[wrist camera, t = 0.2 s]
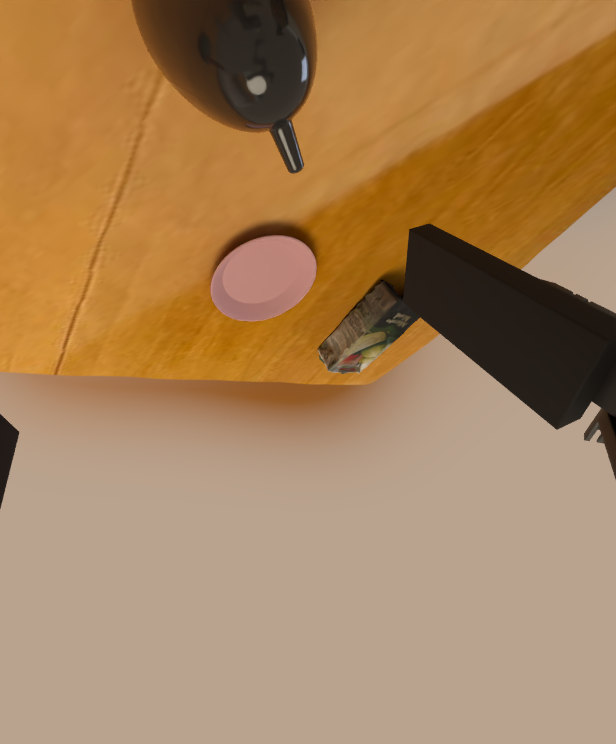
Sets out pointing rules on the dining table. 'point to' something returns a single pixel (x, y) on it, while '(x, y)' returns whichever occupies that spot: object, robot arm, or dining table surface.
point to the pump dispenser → (237, 60)
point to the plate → (263, 278)
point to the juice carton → (367, 331)
